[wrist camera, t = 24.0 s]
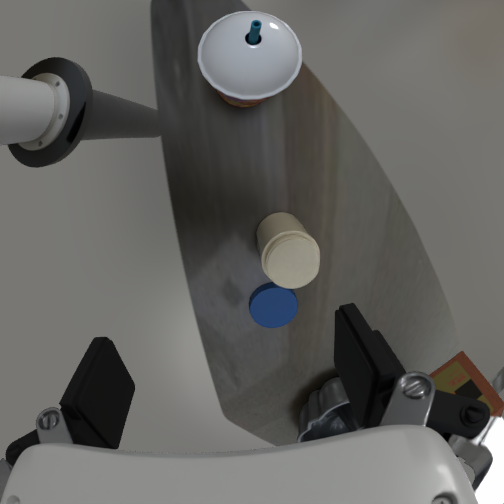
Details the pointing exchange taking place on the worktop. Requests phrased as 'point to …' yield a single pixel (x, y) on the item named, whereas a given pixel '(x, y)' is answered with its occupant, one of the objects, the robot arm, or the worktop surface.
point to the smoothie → (249, 57)
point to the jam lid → (273, 305)
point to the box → (467, 383)
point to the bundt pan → (327, 413)
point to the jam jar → (287, 251)
